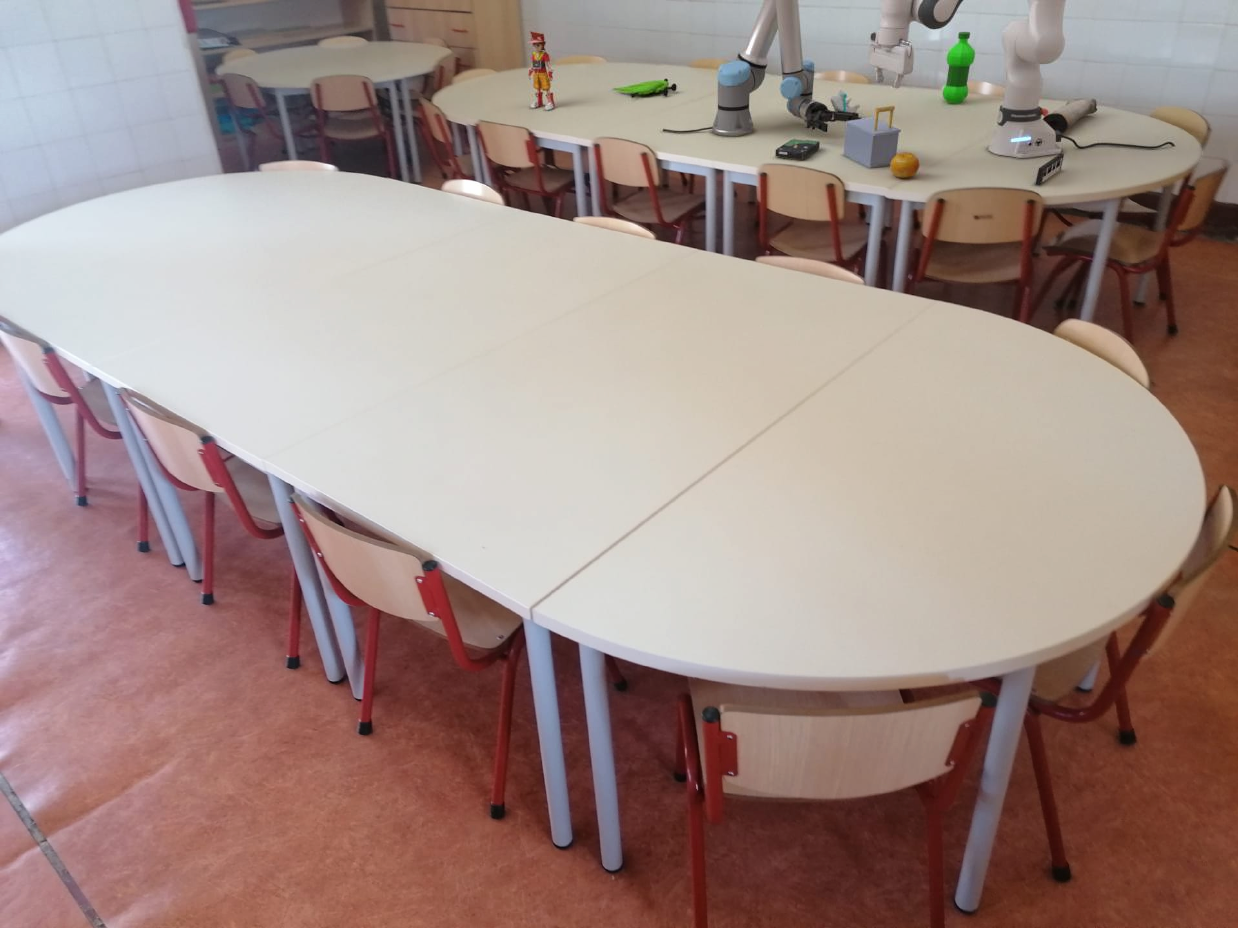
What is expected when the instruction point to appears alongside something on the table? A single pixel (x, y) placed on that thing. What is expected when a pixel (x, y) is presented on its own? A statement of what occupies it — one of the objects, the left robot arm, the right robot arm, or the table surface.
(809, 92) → the left robot arm
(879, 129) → the lid
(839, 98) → the anatomical model
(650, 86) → the toy
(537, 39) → the toy
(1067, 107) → the rolled mat
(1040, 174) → the midi keyboard
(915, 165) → the fruit
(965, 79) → the plastic bottle
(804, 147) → the disk drive
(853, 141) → the chest
